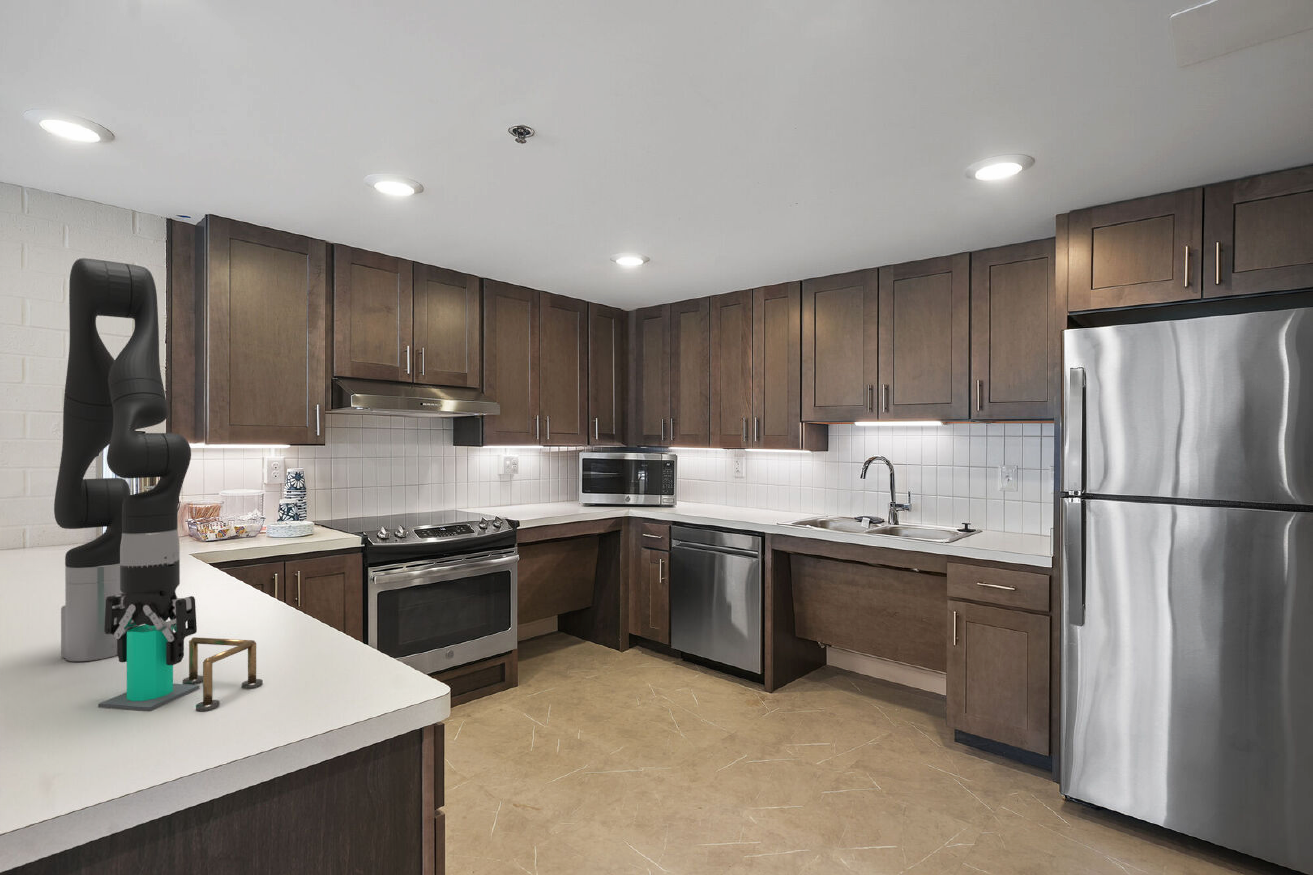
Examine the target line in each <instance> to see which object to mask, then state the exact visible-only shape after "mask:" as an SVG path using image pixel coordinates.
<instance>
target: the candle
mask: <svg viewBox="0 0 1313 875" xmlns="http://www.w3.org/2000/svg"><path fill="white" fill-rule="evenodd" d="M171 629H172V630H173V631H174V629H173V628H171ZM166 642H168V640H167V638H166V637H165V635H164V634H163V632H162V631H158V630H157V628H156V627H155V625H154V626H149V625H146V624H143V625H140V626H137V627H134V628H132V629H130V630H128V631H127V662H126V692H127V700H131V701H144V700H150V699H156V698H159V697H162V696H165V695H168V694H169V693H171V692H173V684H174V665H167V664H166Z"/></svg>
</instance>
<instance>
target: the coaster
mask: <svg viewBox="0 0 1313 875" xmlns="http://www.w3.org/2000/svg"><path fill="white" fill-rule="evenodd" d="M200 688H201V687H200V684H195V685H188V684H182V683H173V692H171V693H169V694H168V695H165V696H162V697H159V698H156V699H150V700H144V701H131V700H127V691H126V692H124V693H121V694H119V695H116V696H113V697H112V698H109V699H107V700H104V701H102V702H99V703H98V705H97V706H98V708H102V709H114V710H115V709H117V710H131V711H142V712H143V711H144V712H151V711H153V710H155V709H158V708H161V707H162V706H164V705H166V704H167V705H168V704H169V703H171V702H173V701H176V700H178V699H180V698H182V697H185V696H187V695H190V694H192V693H194V692H196V691H198V690H200Z"/></svg>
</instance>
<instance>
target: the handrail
mask: <svg viewBox="0 0 1313 875" xmlns="http://www.w3.org/2000/svg"><path fill="white" fill-rule="evenodd" d="M198 645H211V646H212V645H215V646H232V648H229V649H227V650H225V651H222V652H218V653H216V654H214V655H212V656H210V657H207V658H205V659H204V660H203V662H202V675H201V674H200V675H199V674H198V673H199V665H198V662H199V660H198V659H199V657H198V656H199V654H198V652H199V649H198V647H199V646H198ZM246 650H247V680H245V681H243V682H241V684H240V685H241V689H242V690H251V689H252V690H253V689H257V688H259V687H262V686H263V684H264V683H263V681H264V680H263V679H261V678H257V641H255V640H252V639H237V638H236V639H232V638H215V637H214V638H213V637H192V638H191V639H190V640H188V676H187V677H185V678H183V679H182V681H181V682H182V683H181V684H188V685H200V684H202V701H200V702H198V703H196V705H195V711H196V712H199V713H200V712H209V711H213V710H216V709H218V708H219V707H220V704H221V703H220V701H221V700H219V699H213V690H214V689H213V663H217V662H218V661H221V660H223V659H225V658H228V657H231V656H234V655H235V654H238V653H240V652H243V651H246Z"/></svg>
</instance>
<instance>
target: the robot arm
mask: <svg viewBox="0 0 1313 875" xmlns="http://www.w3.org/2000/svg"><path fill="white" fill-rule="evenodd" d="M155 283H156V282H155V279H154V277H153V274H152V272H151V271H150V270H149V269H148V268H146V267H145V266H141V265H138V264H137V265H136V264H131V263H127V262H126V263H124V262H117V261H110V260H103V259H102V260H101V259H95V258H94V259H93V258H85V257H83V258H81V257H80V258H78V259H76V260H75V261H74V263H73V264H72V267H71V269H70V275H69V283H68V286H69V287H68V289H69V290H68V295H69V296H68V298H69V299H68V301H69V302H68V303H69V304H68V305H69V306H68V308H69V309H68V310H69V348H68V359H67V367H66V378H65V386H64V394H63V395H64V397H63V410H62V411H63V412H62V413H63V416H62V419H63V420H62V443H61V444H62V445H61V446H62V447H61V449H62V450H61V455H60V464H59V468H58V475H57V481H56V482H57V483H56V487H55V494H54V495H55V496H54V505H53V506H54V507H53V511H54V512H53V514H54V519H55V522H56V524H57V525H58V526H59V527H60V528H62V529H65V530H79V529H93V528H105V527H106V529H105V531H104V532H103V533H102V534H101V535H99V536H98V537H96V538H95V539H93V540H91V541H89V542H87V543H84V544H81V545H77V546H76V547H73V548H71V549H69V550H67V552H66V553H65V556H64V560H65V562H64V566H65V567H64V568H65V569H64V571H65V572H64V573H65V575H64V576H65V578H64V579H65V585H64V586H65V589H64V590H65V603H64V605H62V606H61V608H60V658H61V659H62V658H64V659H65V660H66V661H67V662H89V661H96V660H97V661H98V660H102V659H107V658H111V657H115V656H117V658H118V662H119V663H127V631H128V630H130V629H132V628H134V627H137V626H141V625H145V624H146V625H149V626H154V625H155V627H156V628H157V630H158V631H162V632H163V634H164V635H165V637H166V638H167V640H168V642H166V664H167V665H173V666H174V665H178V664H180V663H182V661H183V659H184V656H185V650H184V649H185V639H186V637H188V636H189V637H190V636H192V635H194V634H196V633H197V630H198V628H197V627H198V626H197V611H196V610H197V609H196V607H197V606H196V598H195V597H194V596H193V595H192V596H191V595H190V596H186V597H182V598H181V597H178V596H177V594H176V590H177V588H178V587H179V585H180V582H181V581H180V580H181V578H180V575H181V571H180V570H181V569H180V566H181V565H180V560H181V559H180V556H181V555H180V550H181V549H180V548H181V547H180V546H181V545H180V537H179V531H178V528H179V527H178V524H179V523H178V522H179V521H178V518H179V517H178V516H179V515H178V514H179V513H178V509H179V508H178V506H179V500H180V495H181V491H182V487H183V484H184V480H185V477H186V475H187V472H188V469H189V466H190V462H191V459H192V448H191V445H190V443H189V442H188V440H187V439H186V437H184V436H183V435H181V434H179V433H175V432H166V433H165V432H160V433H159V432H150V433H149V432H136V431H137V430H141V429H145V428H149V427H154V426H157V425H159V424H160V425H161V423H163V422H165V421H166V419H167V418H168V415H169V408H168V407H169V406H168V402H167V397H166V393H165V388H164V383H163V379H162V371H161V365H160V364H161V363H160V362H161V361H160V330H159V328H160V326H159V310H158V309H159V308H158V307H159V306H158V294H157V286H156V284H155ZM98 316H100V317H110V318H111V317H113V318H124V319H132V320H134V321H133V322H134V328H133V332H132V335H131V336H130V338H129V340H128V342H127V343H126V344H125V346H124V347H123V348H122V349H121V351H119V353H118V355H117V356H116V358H114V356H112V354H111V353H110V351H109V350H108V349H107V347H106V345H105V344H104V342H103V341H102V338H101V337H100V334H99V332H98V328H97V318H98ZM105 448H108V449H107V453H106V463H107V466H108V468H109V469H110V471H111V473H113V474H114V475H116V477H107V478H105V477H104V478H102V477H101V478H99V477H98V478H84V477H85V475H86V473H87V471H88V469H89V467H90V466H91V464H92V463H93V461H94V460H95V459H96V458H97V456H98V455H99V454H100V453H101V452H103V450H105ZM144 478H147V479H148V478H159V480H158V481H157V483H156V485H155V486H154V487H153V488H151V489H149V490H145V491H141V492H138V493H133V494H131V488H130V485H129V483H128V481H126V479H144ZM168 619H169V620H168ZM171 628H173V630H172V629H171Z"/></svg>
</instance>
